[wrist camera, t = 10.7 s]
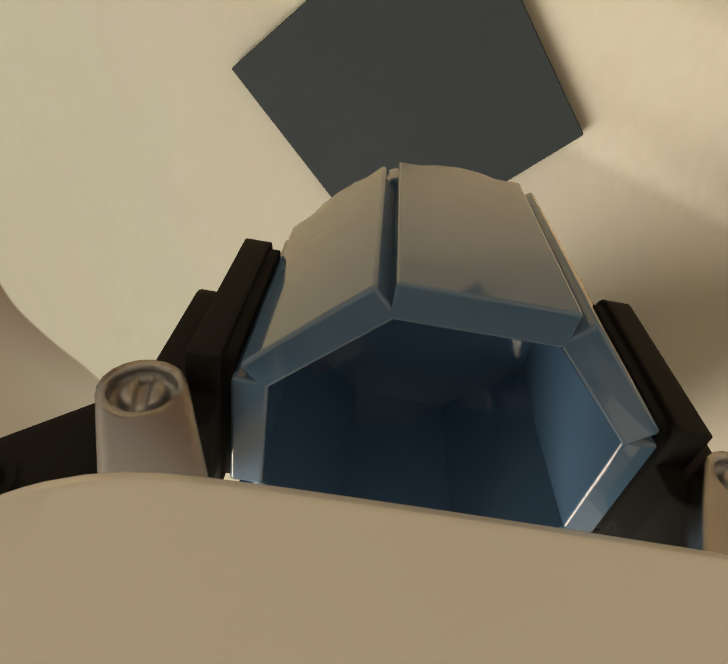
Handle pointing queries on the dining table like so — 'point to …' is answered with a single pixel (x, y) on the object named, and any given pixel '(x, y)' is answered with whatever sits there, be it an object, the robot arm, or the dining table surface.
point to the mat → (410, 87)
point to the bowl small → (437, 359)
